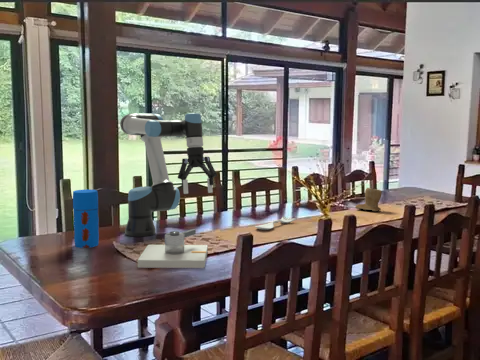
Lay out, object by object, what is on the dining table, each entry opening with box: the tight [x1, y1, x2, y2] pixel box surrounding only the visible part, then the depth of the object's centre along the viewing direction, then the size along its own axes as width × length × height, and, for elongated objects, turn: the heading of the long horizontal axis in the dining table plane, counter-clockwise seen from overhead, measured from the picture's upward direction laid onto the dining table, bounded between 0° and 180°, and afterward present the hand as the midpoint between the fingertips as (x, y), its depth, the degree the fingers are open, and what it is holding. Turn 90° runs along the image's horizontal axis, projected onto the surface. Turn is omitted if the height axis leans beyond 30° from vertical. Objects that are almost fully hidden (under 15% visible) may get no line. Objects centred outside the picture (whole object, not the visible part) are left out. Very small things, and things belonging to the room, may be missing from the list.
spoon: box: [254, 215, 297, 231], centre depth 270 cm, size 9×32×4 cm, turn 143°
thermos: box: [72, 189, 100, 249], centre depth 224 cm, size 11×11×25 cm
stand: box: [137, 244, 209, 269], centre depth 204 cm, size 26×24×3 cm
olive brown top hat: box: [354, 187, 383, 212], centre depth 320 cm, size 15×12×15 cm
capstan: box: [164, 228, 196, 254], centre depth 207 cm, size 18×8×8 cm, turn 151°
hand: (198, 193), depth 226 cm, fingers open, 13 cm apart
